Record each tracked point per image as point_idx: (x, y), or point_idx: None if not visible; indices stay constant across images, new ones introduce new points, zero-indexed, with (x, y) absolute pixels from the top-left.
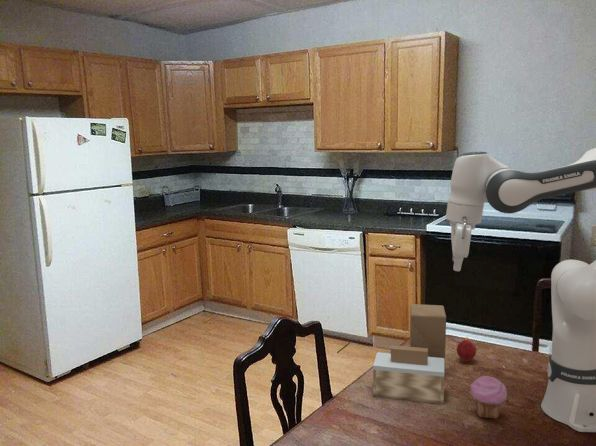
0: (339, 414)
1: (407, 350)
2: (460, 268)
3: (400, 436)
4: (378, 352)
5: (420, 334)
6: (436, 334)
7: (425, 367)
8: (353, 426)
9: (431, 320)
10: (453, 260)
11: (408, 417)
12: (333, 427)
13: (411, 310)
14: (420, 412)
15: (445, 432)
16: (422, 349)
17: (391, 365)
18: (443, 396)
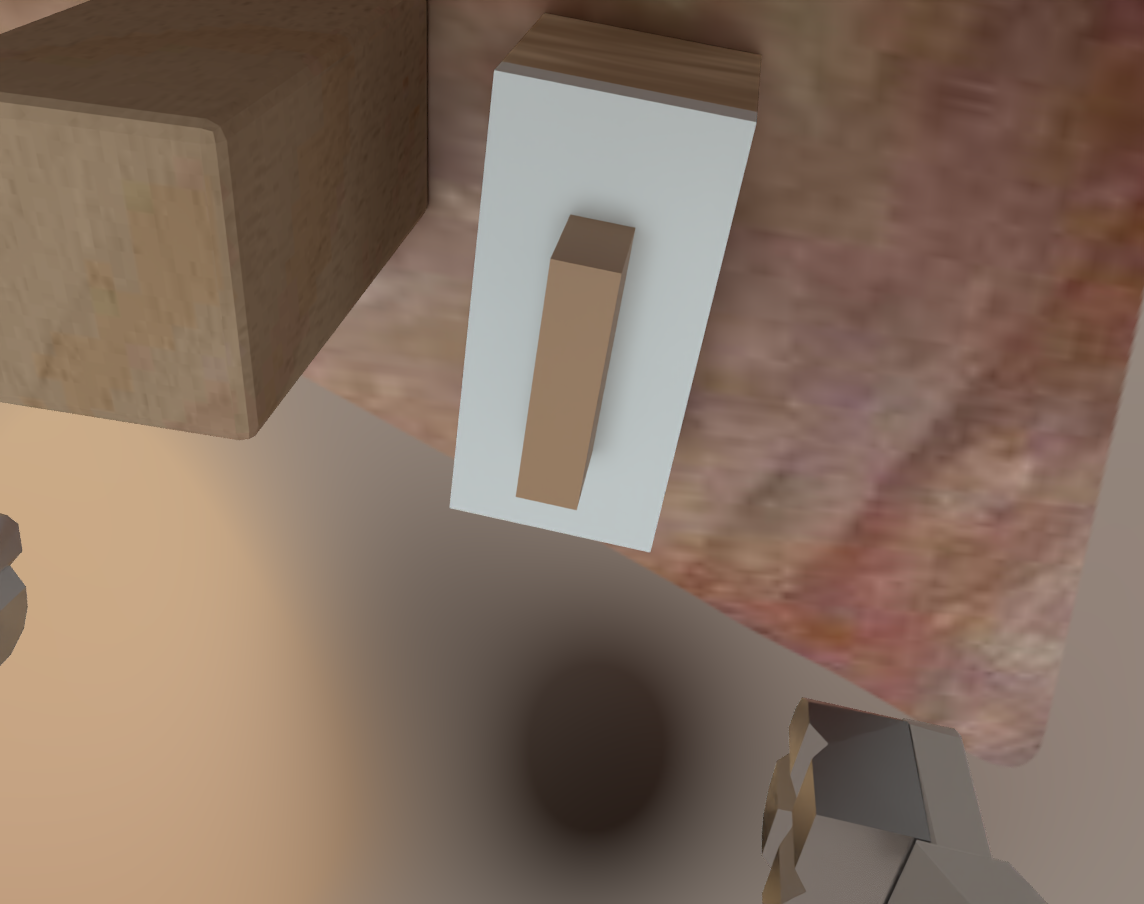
0: (846, 594)
1: (596, 409)
2: (965, 777)
3: (1090, 359)
4: (452, 501)
5: (318, 285)
6: (304, 156)
7: (668, 247)
8: (961, 549)
9: (256, 254)
10: (9, 634)
11: (902, 292)
12: (959, 623)
13: (131, 422)
14: (852, 217)
15: (1096, 109)
16: (577, 304)
17: (644, 455)
18: (759, 71)
